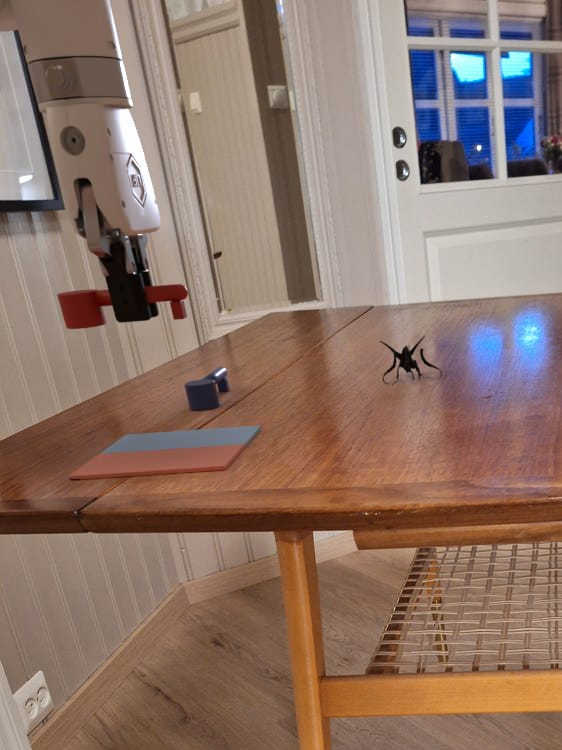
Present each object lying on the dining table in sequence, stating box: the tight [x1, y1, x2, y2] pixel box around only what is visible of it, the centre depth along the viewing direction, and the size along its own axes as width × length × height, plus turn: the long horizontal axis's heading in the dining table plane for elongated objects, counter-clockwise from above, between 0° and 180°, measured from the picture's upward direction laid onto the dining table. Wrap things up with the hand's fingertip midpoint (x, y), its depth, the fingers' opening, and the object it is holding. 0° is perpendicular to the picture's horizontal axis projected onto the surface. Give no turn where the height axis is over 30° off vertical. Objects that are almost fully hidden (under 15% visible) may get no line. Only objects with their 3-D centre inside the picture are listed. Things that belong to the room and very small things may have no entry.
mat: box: [68, 425, 262, 480], centre depth 88 cm, size 15×15×1 cm
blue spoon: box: [184, 366, 230, 412], centre depth 109 cm, size 12×4×3 cm, turn 0°
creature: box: [379, 335, 443, 385], centre depth 112 cm, size 8×5×8 cm
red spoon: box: [56, 283, 189, 330], centre depth 81 cm, size 12×4×3 cm, turn 90°
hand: (138, 318), depth 82 cm, fingers closed on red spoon, 1 cm apart
